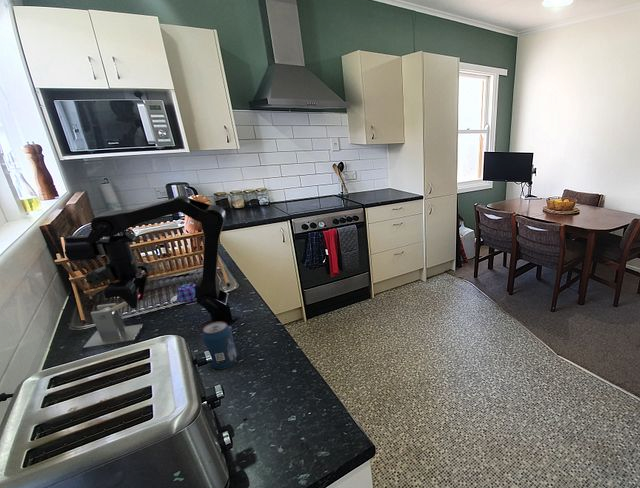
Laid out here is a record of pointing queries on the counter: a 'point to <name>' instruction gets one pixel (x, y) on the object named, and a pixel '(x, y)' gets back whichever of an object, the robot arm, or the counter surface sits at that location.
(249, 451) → the counter surface
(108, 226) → the robot arm
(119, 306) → the switch lever
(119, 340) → the switch bracket
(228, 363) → the soda can
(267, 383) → the counter surface
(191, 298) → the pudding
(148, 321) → the counter surface
